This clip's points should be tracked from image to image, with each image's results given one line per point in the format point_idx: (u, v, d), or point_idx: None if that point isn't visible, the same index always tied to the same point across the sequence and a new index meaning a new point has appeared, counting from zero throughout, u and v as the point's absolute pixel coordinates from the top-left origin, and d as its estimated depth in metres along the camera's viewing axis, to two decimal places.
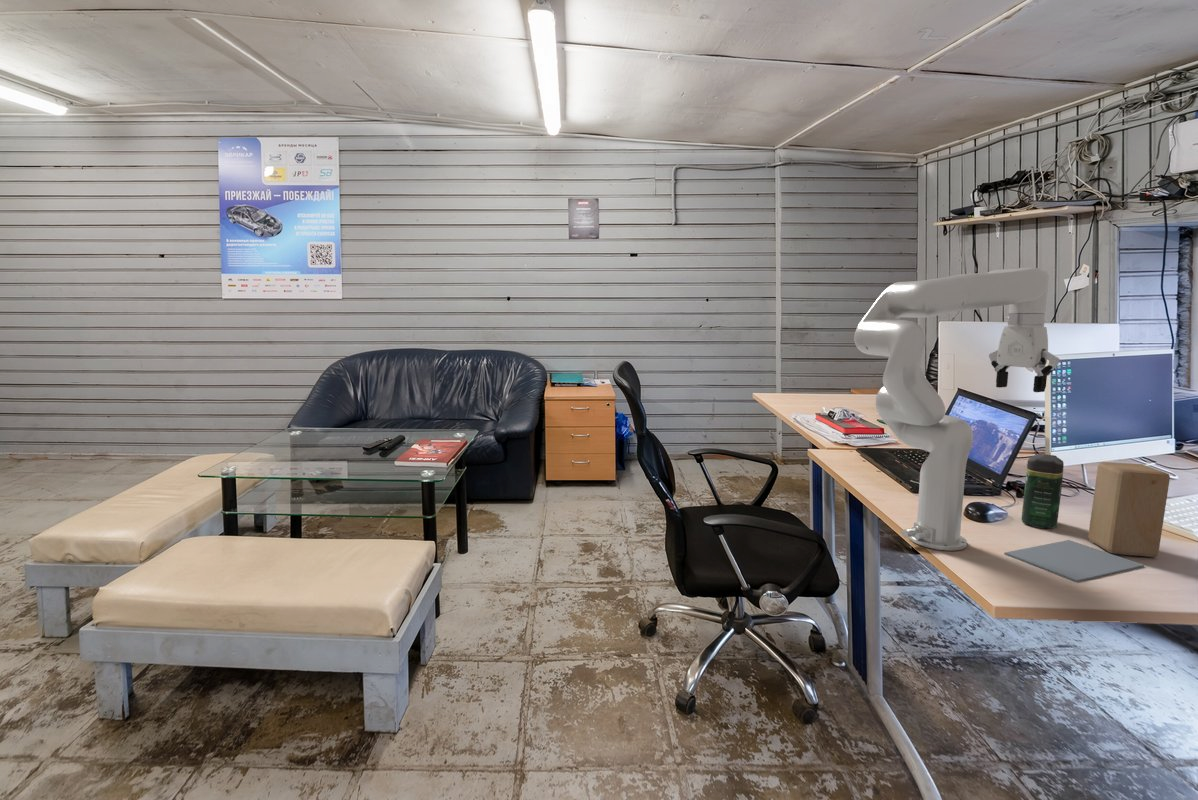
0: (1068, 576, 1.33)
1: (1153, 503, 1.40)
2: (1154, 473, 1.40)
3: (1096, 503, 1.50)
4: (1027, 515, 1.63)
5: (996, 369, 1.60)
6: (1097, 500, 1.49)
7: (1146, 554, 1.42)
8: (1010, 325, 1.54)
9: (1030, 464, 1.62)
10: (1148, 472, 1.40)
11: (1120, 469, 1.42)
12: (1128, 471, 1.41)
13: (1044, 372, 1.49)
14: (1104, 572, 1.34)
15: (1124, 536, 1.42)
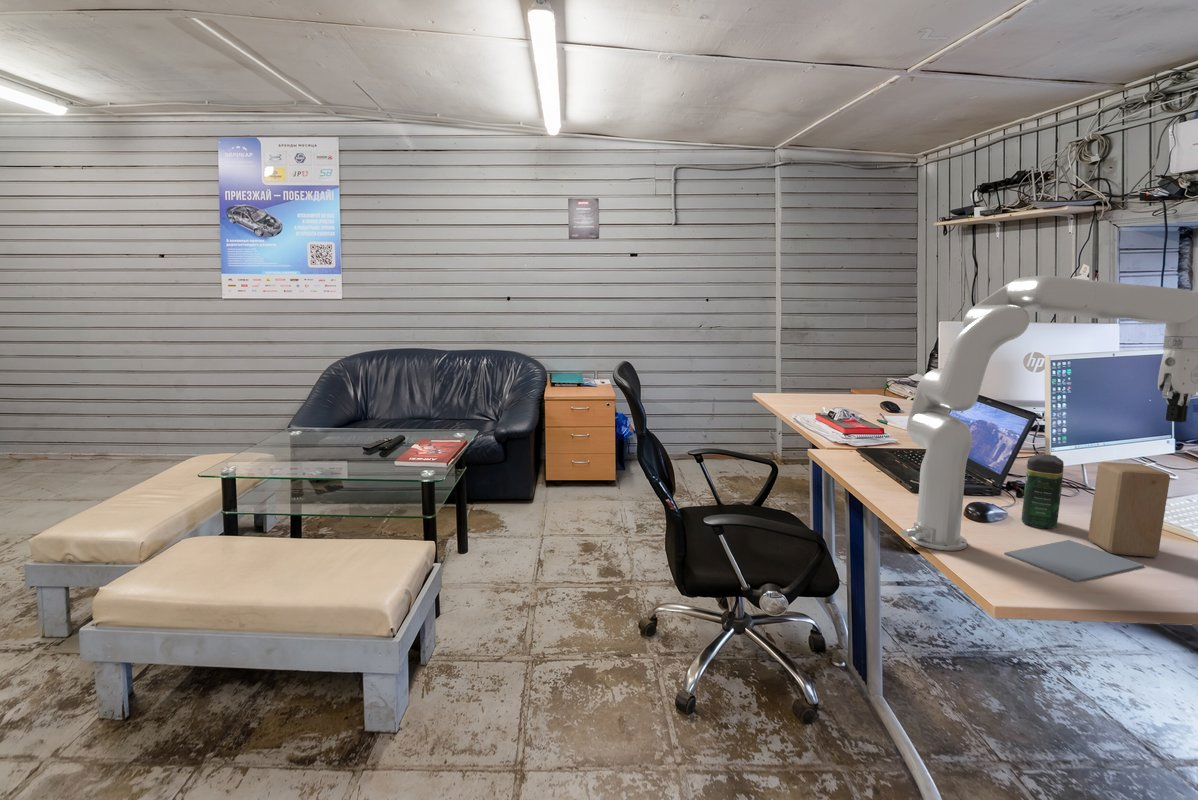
0: (1068, 576, 1.33)
1: (1153, 503, 1.40)
2: (1154, 473, 1.40)
3: (1096, 503, 1.50)
4: (1027, 515, 1.63)
5: (1180, 403, 1.45)
6: (1097, 500, 1.49)
7: (1146, 554, 1.42)
8: None
9: (1030, 464, 1.62)
10: (1148, 472, 1.40)
11: (1120, 469, 1.42)
12: (1128, 471, 1.41)
13: None
14: (1104, 572, 1.34)
15: (1124, 536, 1.42)
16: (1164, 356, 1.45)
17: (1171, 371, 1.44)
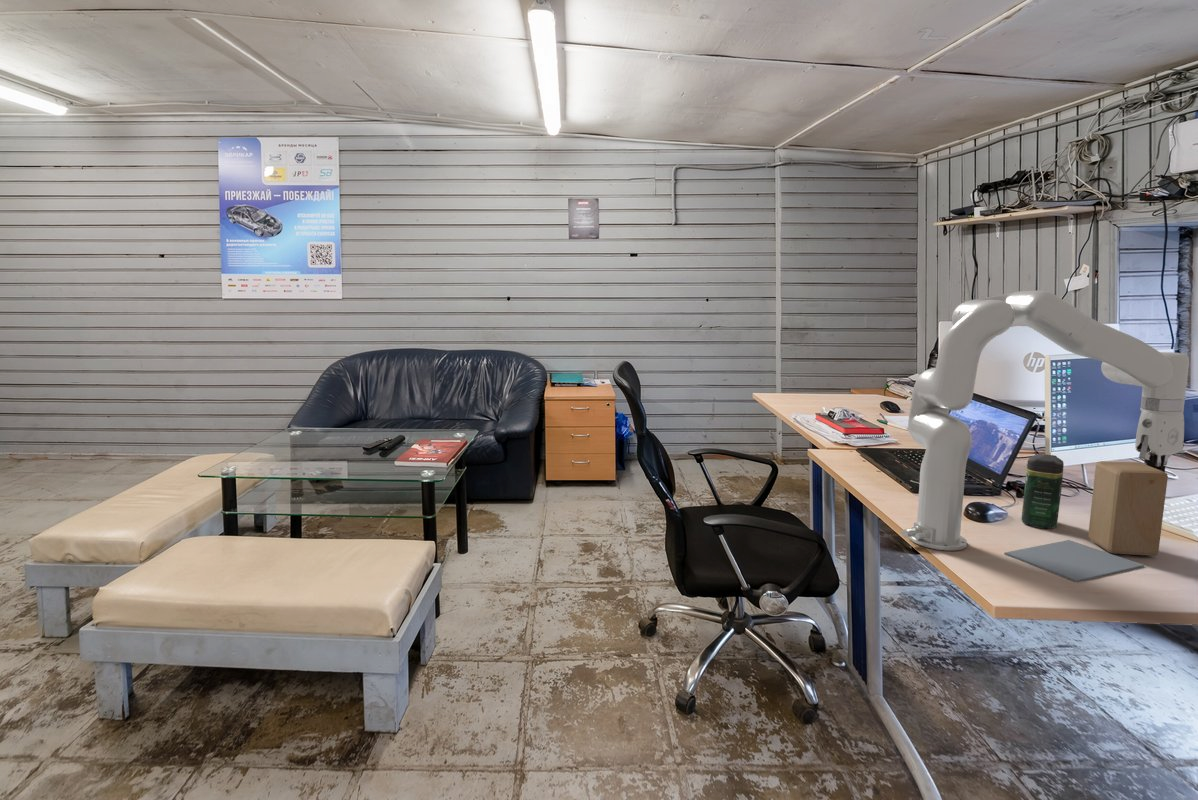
0: (1068, 576, 1.33)
1: (1152, 502, 1.40)
2: (1152, 472, 1.40)
3: (1095, 503, 1.49)
4: (1027, 515, 1.63)
5: (1158, 464, 1.46)
6: (1096, 500, 1.49)
7: (1146, 553, 1.42)
8: (1176, 412, 1.42)
9: (1030, 464, 1.62)
10: (1146, 472, 1.40)
11: (1118, 469, 1.42)
12: (1126, 471, 1.41)
13: None
14: (1104, 572, 1.34)
15: (1123, 536, 1.42)
16: (1141, 417, 1.45)
17: (1148, 433, 1.44)
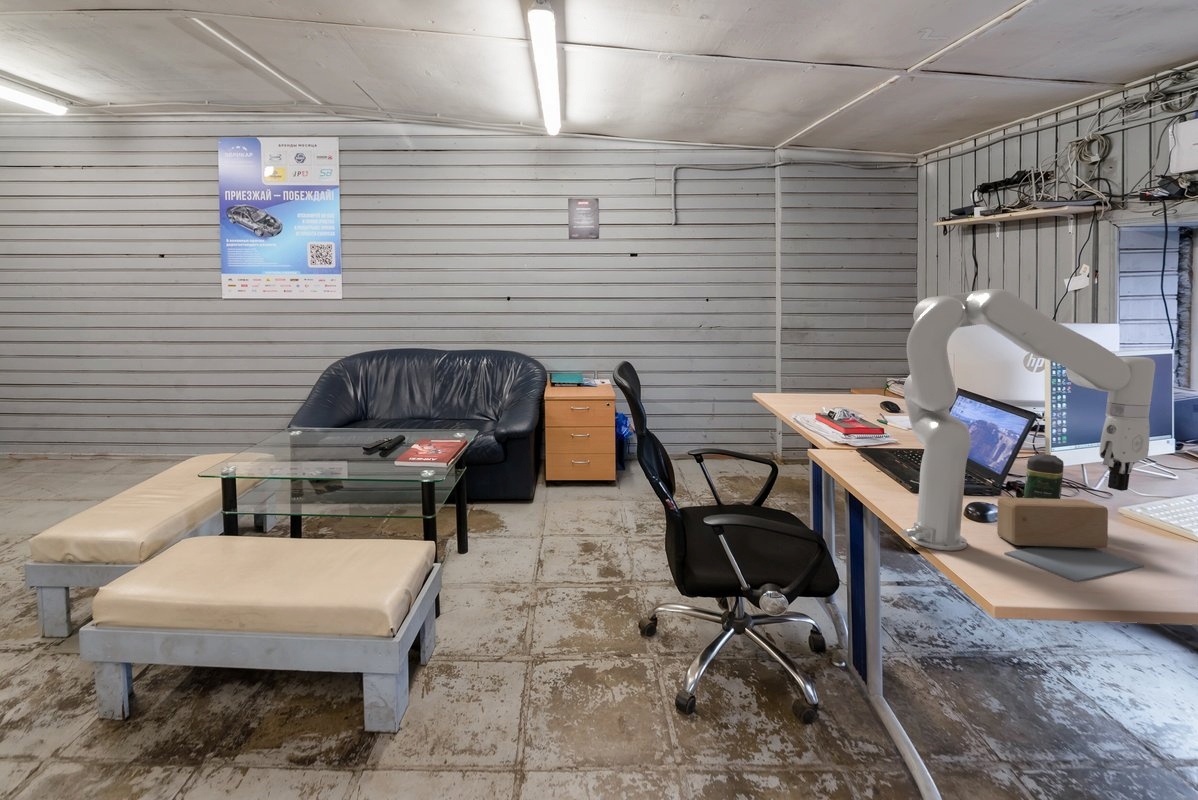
0: (1068, 576, 1.33)
1: (1047, 517, 1.46)
2: (1014, 517, 1.48)
3: None
4: None
5: (1122, 472, 1.42)
6: None
7: (1106, 518, 1.44)
8: (1140, 418, 1.38)
9: (1030, 464, 1.62)
10: (1013, 522, 1.48)
11: (1010, 541, 1.49)
12: (1013, 538, 1.48)
13: None
14: (1104, 572, 1.34)
15: (1087, 539, 1.44)
16: (1106, 423, 1.41)
17: (1112, 439, 1.40)
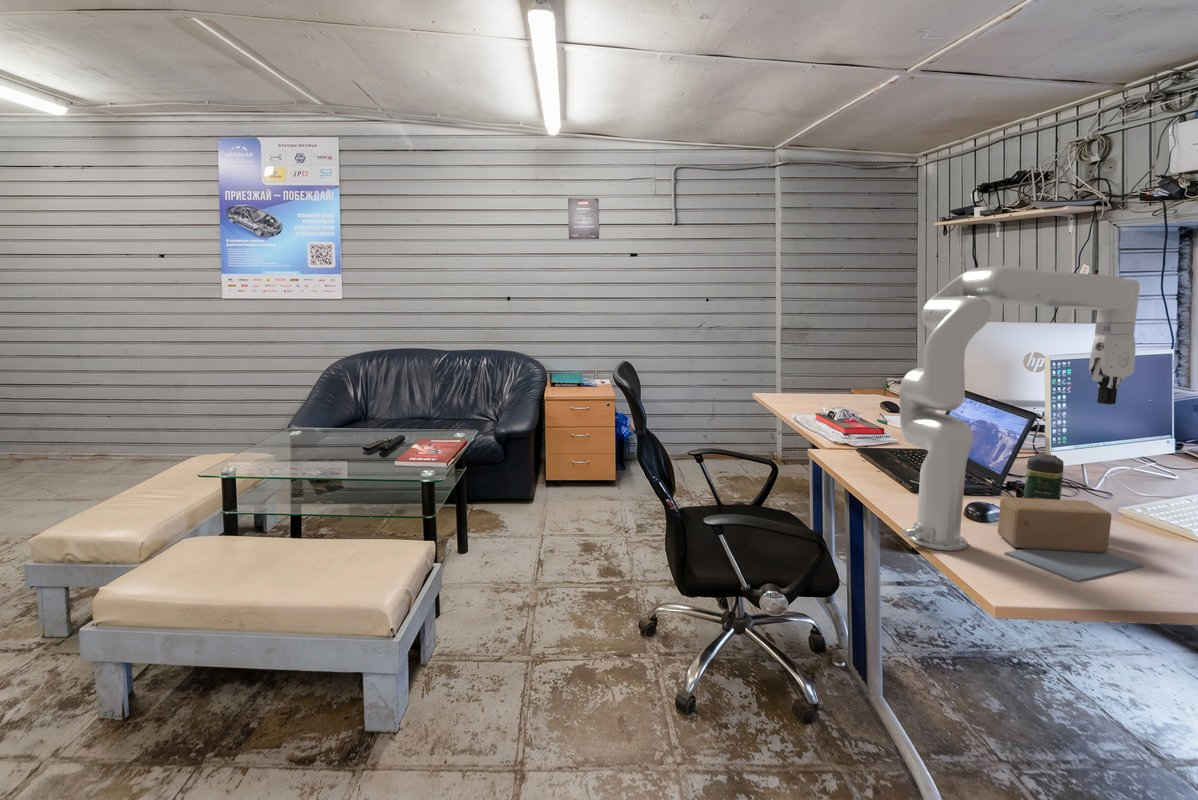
0: (1068, 576, 1.33)
1: (1050, 521, 1.45)
2: (1016, 521, 1.47)
3: None
4: None
5: (1110, 386, 1.54)
6: None
7: (1108, 524, 1.43)
8: (1126, 335, 1.50)
9: (1030, 464, 1.62)
10: (1015, 525, 1.47)
11: (1011, 543, 1.49)
12: (1014, 541, 1.48)
13: None
14: (1104, 572, 1.34)
15: (1087, 543, 1.44)
16: (1095, 341, 1.53)
17: (1100, 355, 1.52)
